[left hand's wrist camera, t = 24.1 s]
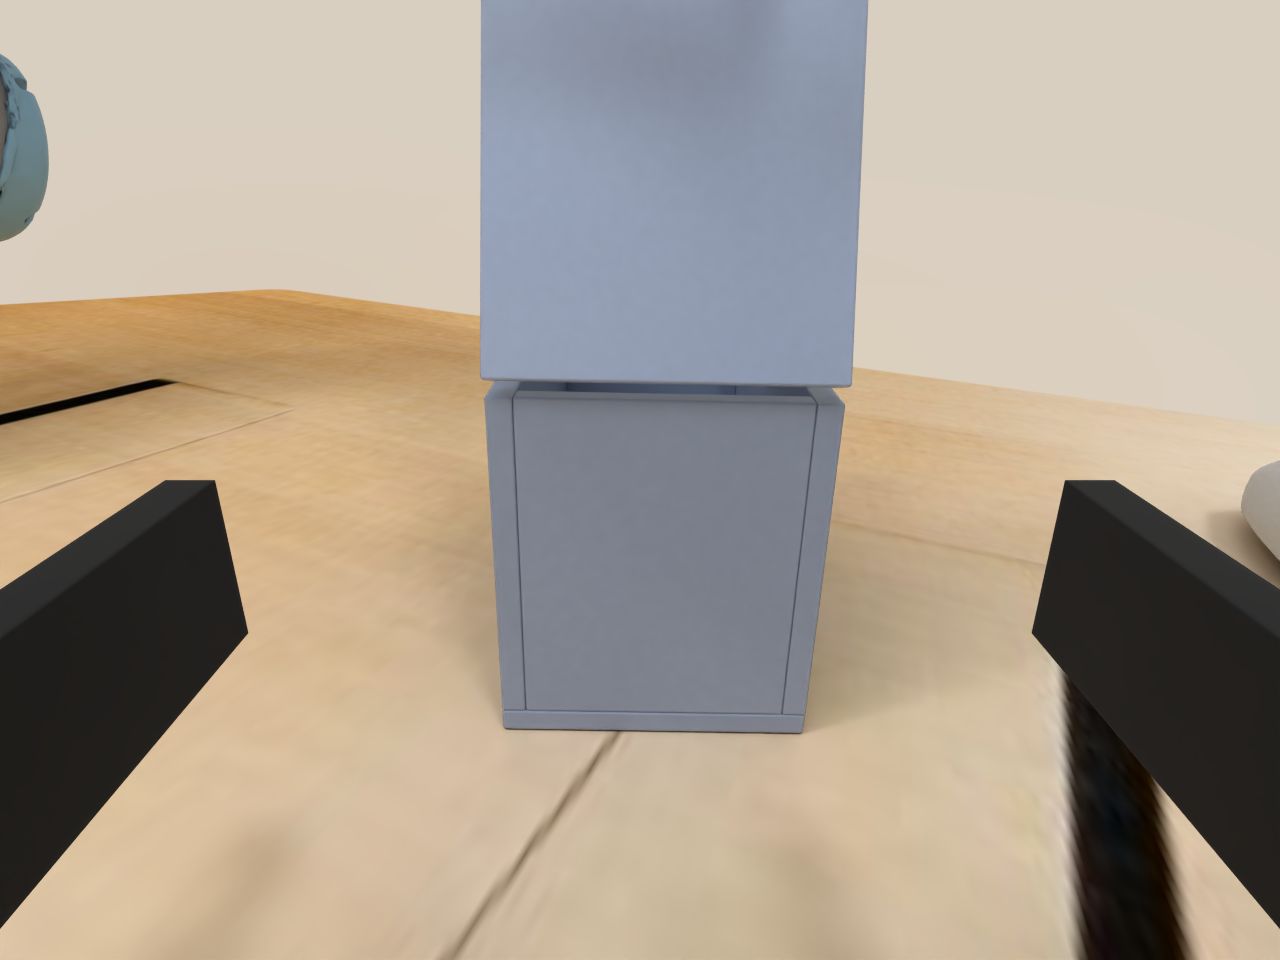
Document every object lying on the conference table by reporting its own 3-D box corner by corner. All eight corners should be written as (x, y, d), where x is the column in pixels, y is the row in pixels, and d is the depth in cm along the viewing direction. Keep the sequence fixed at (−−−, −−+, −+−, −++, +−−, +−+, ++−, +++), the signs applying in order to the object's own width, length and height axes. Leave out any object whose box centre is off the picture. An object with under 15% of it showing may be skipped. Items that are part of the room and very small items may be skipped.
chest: (555, 505, 41) (550, 289, 37) (739, 508, 41) (756, 294, 37) (502, 729, 25) (483, 396, 21) (803, 734, 25) (846, 404, 21)
